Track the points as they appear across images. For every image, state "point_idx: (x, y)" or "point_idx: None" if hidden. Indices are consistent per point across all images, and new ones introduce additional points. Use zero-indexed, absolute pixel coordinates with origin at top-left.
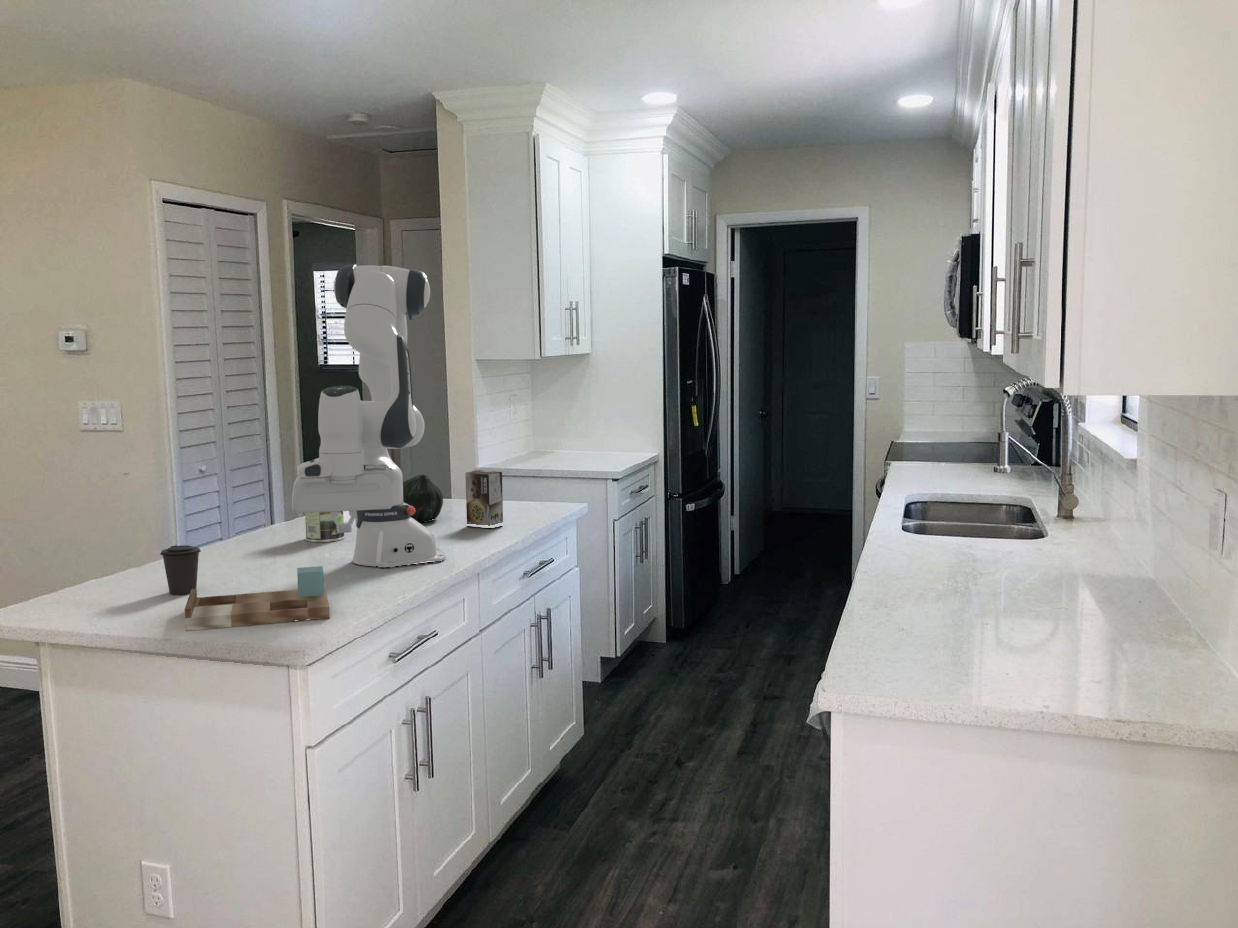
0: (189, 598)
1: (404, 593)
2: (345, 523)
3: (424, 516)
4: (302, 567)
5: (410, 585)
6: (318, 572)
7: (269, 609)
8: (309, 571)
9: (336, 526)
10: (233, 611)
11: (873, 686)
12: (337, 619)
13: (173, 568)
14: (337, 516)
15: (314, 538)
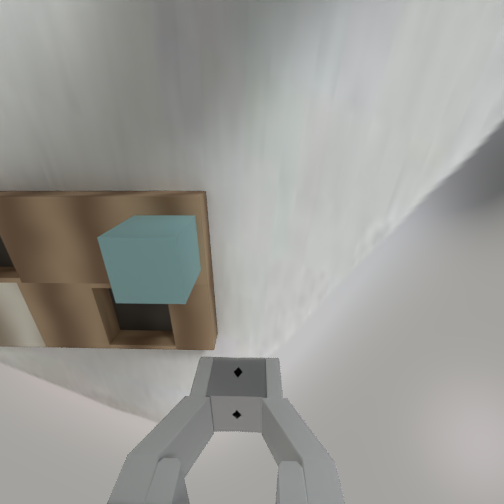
0: None
1: (394, 199)
2: (247, 408)
3: None
4: (113, 238)
5: (443, 108)
6: (172, 302)
7: (106, 336)
8: (146, 295)
9: (194, 380)
10: (42, 330)
11: None
12: (230, 340)
13: None
14: (186, 502)
15: None
